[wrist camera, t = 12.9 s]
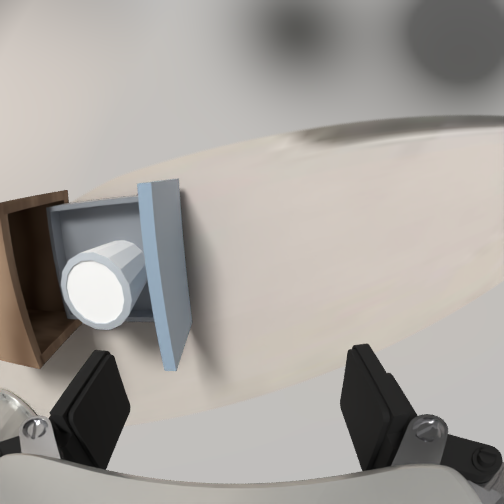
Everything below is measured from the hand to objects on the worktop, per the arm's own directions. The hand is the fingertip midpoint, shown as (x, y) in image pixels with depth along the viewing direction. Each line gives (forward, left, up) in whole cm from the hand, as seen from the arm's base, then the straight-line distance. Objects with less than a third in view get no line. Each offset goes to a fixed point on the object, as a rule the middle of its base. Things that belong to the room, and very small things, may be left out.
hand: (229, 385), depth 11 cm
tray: (0, +12, -19) cm, 23 cm away
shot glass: (-1, +12, -19) cm, 22 cm away
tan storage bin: (0, +26, -21) cm, 33 cm away
